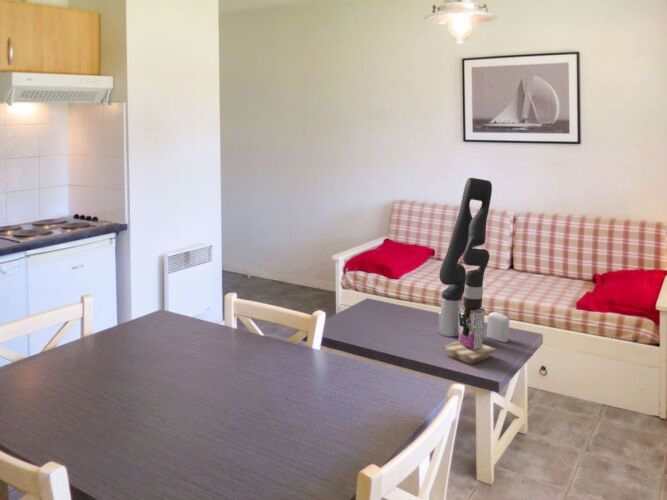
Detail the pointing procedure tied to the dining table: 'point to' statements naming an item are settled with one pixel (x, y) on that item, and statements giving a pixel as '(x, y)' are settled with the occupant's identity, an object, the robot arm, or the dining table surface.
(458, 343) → the stand
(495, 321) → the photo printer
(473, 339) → the candy bar box
